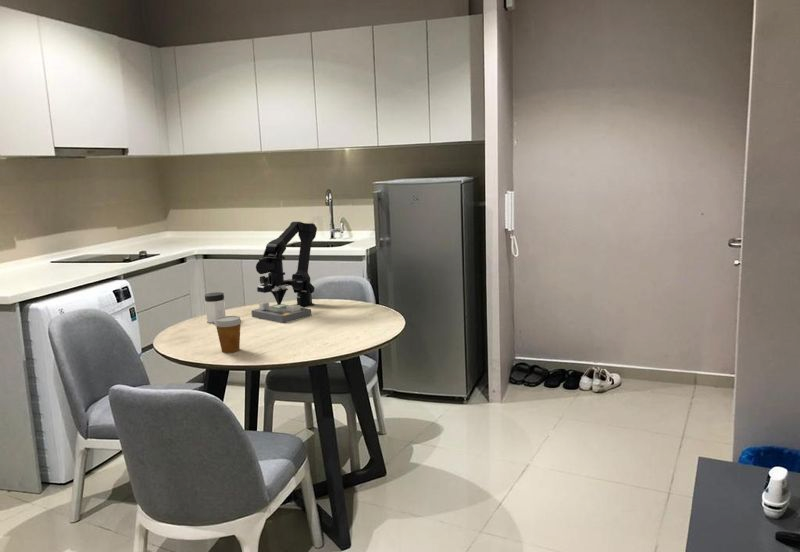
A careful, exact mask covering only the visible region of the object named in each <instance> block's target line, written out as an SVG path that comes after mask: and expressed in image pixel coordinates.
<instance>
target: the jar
mask: <svg viewBox="0 0 800 552" xmlns="http://www.w3.org/2000/svg"><path fill="white" fill-rule="evenodd" d="M204 301H205V302H204V303H205V312H206V315H205V316H206V322H207V323H209V324H210V323H211V324H215V321H216V319H217V318H220V317H224V316H227V315H226V306H225V293H224V292H221V291H218V292H217V291H216V292H208V293H205V294H204Z"/></svg>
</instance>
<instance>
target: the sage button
mask: <svg viewBox="0 0 800 552" xmlns="http://www.w3.org/2000/svg"><path fill="white" fill-rule="evenodd" d="M276 305H277V304H276ZM284 305H285V304H284ZM284 305H277V306H273V305H272V306H273V308H275V309H281V308H285V307H286V306H284Z"/></svg>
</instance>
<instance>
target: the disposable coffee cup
mask: <svg viewBox="0 0 800 552" xmlns="http://www.w3.org/2000/svg"><path fill="white" fill-rule="evenodd" d="M241 324H242V320H241V317H240V316H238V315H226V316H224V317H220V318H217V319H216V321H215V323H214V325H215V327H216V331H217V336H218V340H219V344H220V349H221V352H222V353H226V354H227V353H231V354H232V353H237V352H239V351H240V346H241Z"/></svg>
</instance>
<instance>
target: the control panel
mask: <svg viewBox="0 0 800 552" xmlns="http://www.w3.org/2000/svg"><path fill="white" fill-rule="evenodd" d="M277 305H278V304H273V305H269V309H267V310H260V308H257V309H252V310H251V317H252V318H253V319H254V318H256V319H259V320H266V321H270V322H275V323H280V324H285V323H290V322H293V321H296V320H302V319H305V318H309V317H312V309H311V308H308V307H302V306H300V308H301V310H297V311H293V312H292V311H286V307H285V308H281V309H275V308H273V306H277ZM280 305H284V306H289V304H283V303H281V304H280Z"/></svg>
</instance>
